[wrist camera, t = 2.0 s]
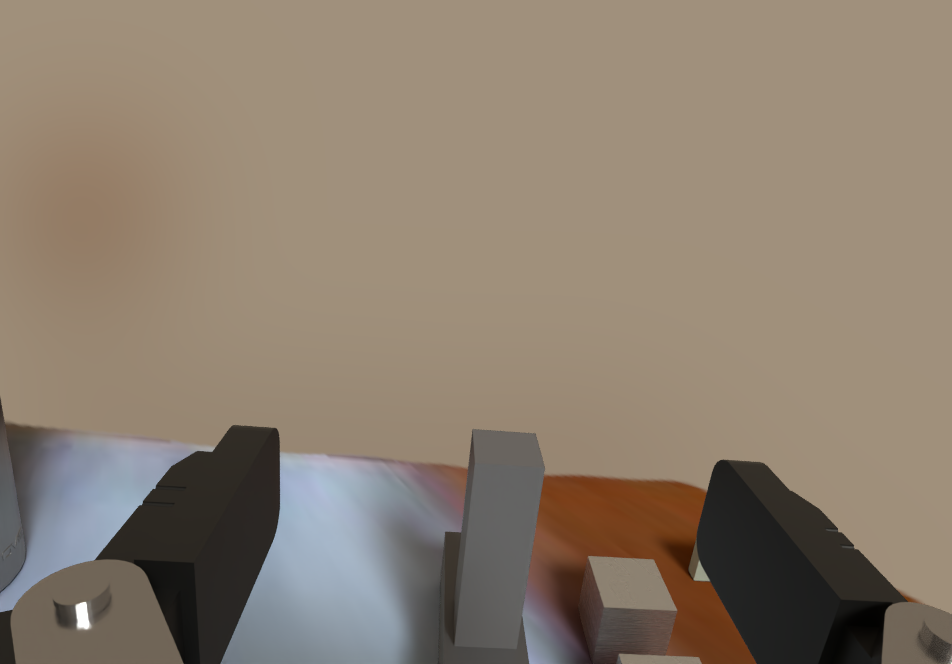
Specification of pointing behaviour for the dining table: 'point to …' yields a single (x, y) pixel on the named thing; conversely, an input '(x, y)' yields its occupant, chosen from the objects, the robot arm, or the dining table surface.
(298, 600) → the dining table surface
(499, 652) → the gray t-shaped block
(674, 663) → the beige cube
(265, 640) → the dining table surface
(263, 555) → the robot arm
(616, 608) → the grey cube block
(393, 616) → the dining table surface
